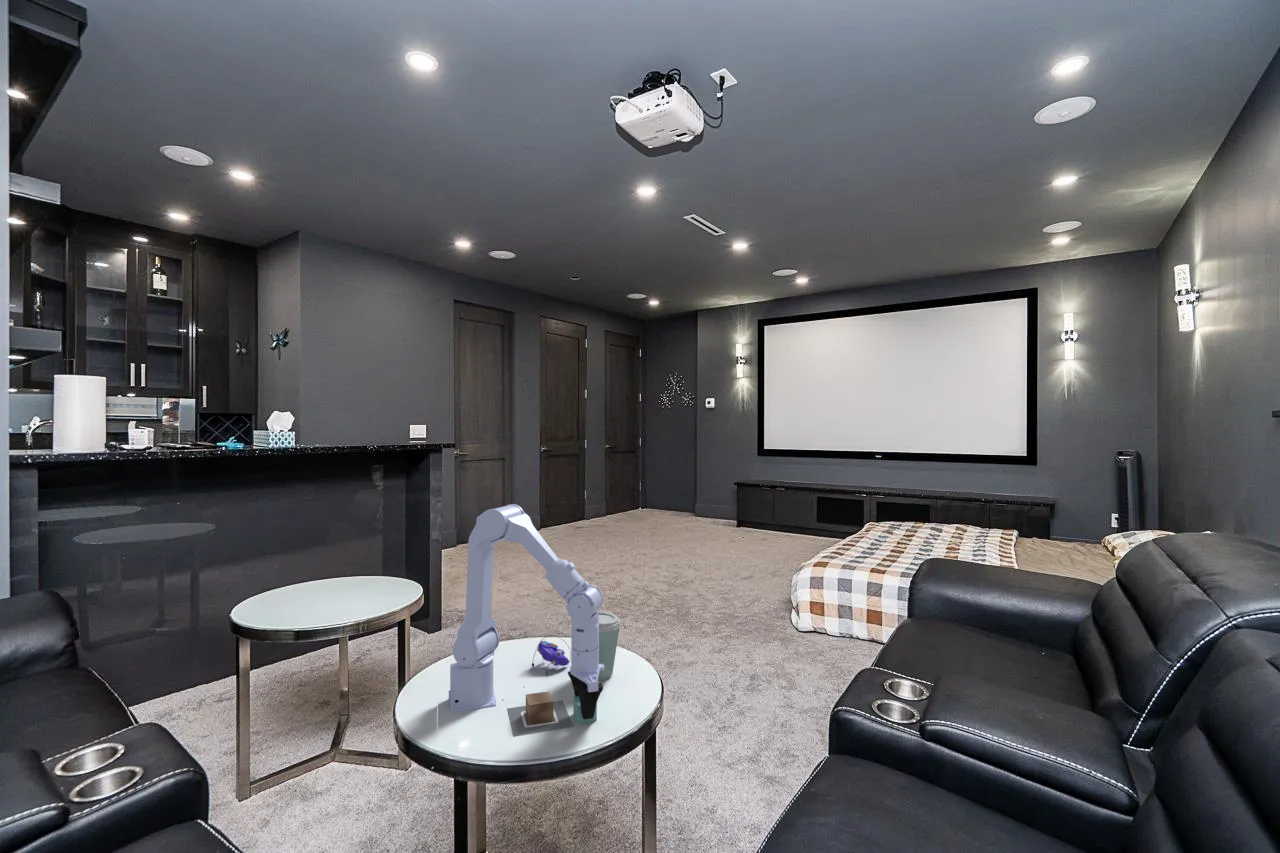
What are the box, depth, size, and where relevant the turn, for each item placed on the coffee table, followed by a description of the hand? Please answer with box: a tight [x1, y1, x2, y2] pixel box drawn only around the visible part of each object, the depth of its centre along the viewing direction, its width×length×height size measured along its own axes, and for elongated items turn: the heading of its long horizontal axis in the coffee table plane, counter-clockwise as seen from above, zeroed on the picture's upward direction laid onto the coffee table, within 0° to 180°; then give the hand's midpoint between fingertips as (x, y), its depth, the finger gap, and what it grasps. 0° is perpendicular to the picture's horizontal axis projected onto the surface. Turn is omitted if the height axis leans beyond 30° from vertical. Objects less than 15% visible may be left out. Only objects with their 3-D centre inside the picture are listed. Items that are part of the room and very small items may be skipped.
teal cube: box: [573, 696, 598, 724], centre depth 122 cm, size 4×4×4 cm
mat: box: [506, 699, 574, 737], centre depth 122 cm, size 12×12×1 cm
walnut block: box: [525, 690, 555, 725], centre depth 122 cm, size 5×5×4 cm
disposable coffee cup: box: [595, 610, 621, 681], centre depth 143 cm, size 11×11×15 cm
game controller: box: [531, 634, 571, 676], centre depth 149 cm, size 10×8×10 cm
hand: (584, 711), depth 122 cm, fingers open, 5 cm apart
